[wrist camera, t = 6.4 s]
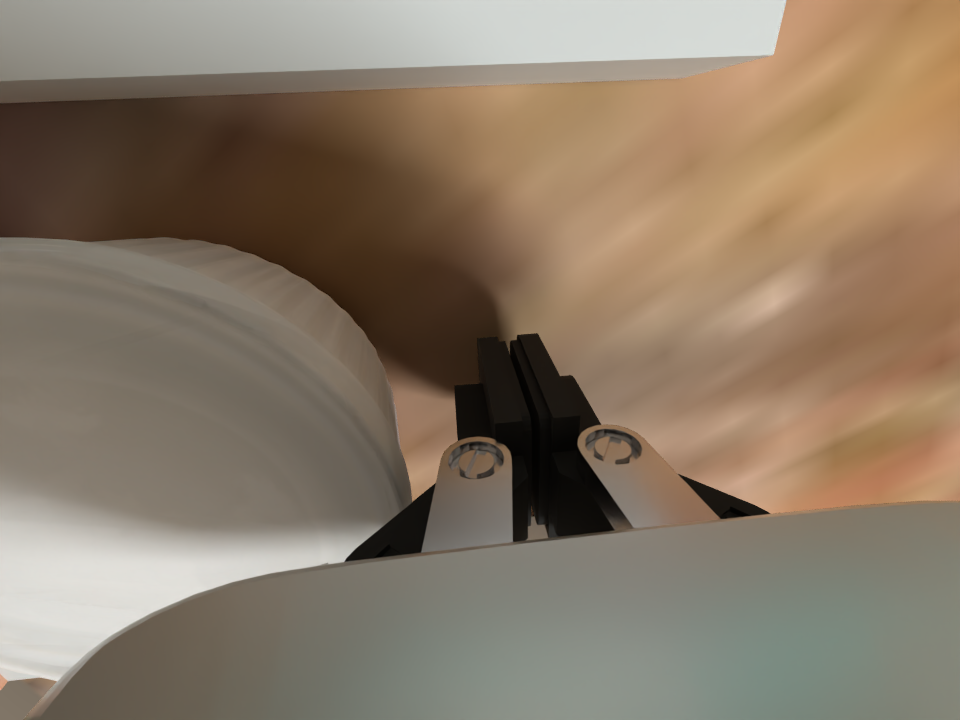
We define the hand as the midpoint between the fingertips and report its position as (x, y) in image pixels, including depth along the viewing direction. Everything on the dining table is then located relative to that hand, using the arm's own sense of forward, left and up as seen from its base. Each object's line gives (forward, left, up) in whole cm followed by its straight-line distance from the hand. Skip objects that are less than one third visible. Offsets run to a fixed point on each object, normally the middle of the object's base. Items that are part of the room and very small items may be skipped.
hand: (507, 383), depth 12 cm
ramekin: (0, -8, -1) cm, 8 cm away
